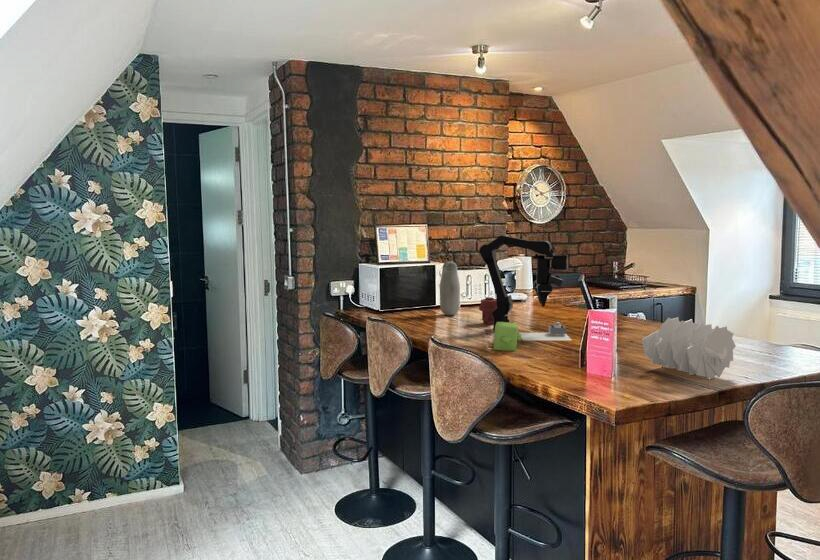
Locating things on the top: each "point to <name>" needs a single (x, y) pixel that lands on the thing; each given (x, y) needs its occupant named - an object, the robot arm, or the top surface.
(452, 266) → the grey bottle
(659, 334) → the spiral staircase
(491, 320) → the mechanical component
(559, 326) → the silver domed knob
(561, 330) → the square frame
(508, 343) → the green pegged block
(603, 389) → the top surface
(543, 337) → the mat
